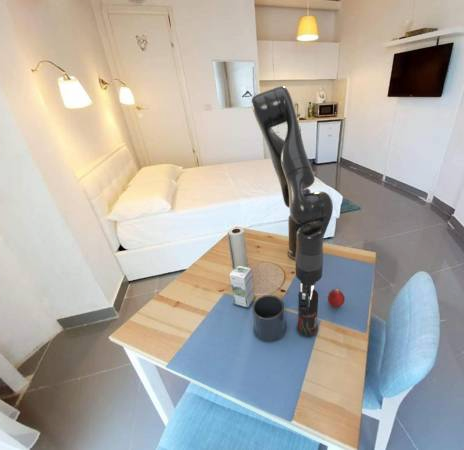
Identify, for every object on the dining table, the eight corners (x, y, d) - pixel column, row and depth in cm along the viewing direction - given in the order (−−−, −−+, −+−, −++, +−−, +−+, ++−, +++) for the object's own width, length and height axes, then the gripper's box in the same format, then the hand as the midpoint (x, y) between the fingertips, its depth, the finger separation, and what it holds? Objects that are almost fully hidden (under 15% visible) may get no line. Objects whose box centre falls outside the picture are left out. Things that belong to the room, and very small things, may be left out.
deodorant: (315, 337, 79) (317, 303, 72) (296, 334, 80) (297, 300, 73) (317, 322, 84) (319, 289, 77) (299, 319, 85) (300, 286, 78)
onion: (333, 314, 87) (335, 297, 83) (324, 303, 91) (325, 287, 88) (346, 308, 89) (349, 291, 85) (336, 298, 94) (338, 281, 90)
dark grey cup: (261, 313, 88) (259, 292, 83) (287, 319, 86) (287, 298, 81) (250, 337, 80) (247, 315, 75) (279, 344, 77) (278, 322, 72)
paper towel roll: (246, 267, 111) (241, 225, 100) (250, 275, 106) (245, 232, 96) (230, 272, 108) (223, 229, 98) (234, 280, 103) (227, 236, 93)
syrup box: (254, 297, 95) (251, 267, 88) (247, 308, 90) (243, 277, 83) (241, 293, 97) (237, 264, 90) (233, 305, 92) (228, 274, 85)
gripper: (301, 245, 76) (300, 286, 84) (289, 276, 64) (290, 319, 72) (326, 249, 74) (323, 290, 82) (318, 280, 62) (316, 325, 70)
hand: (307, 304), depth 77 cm, fingers open, 8 cm apart
